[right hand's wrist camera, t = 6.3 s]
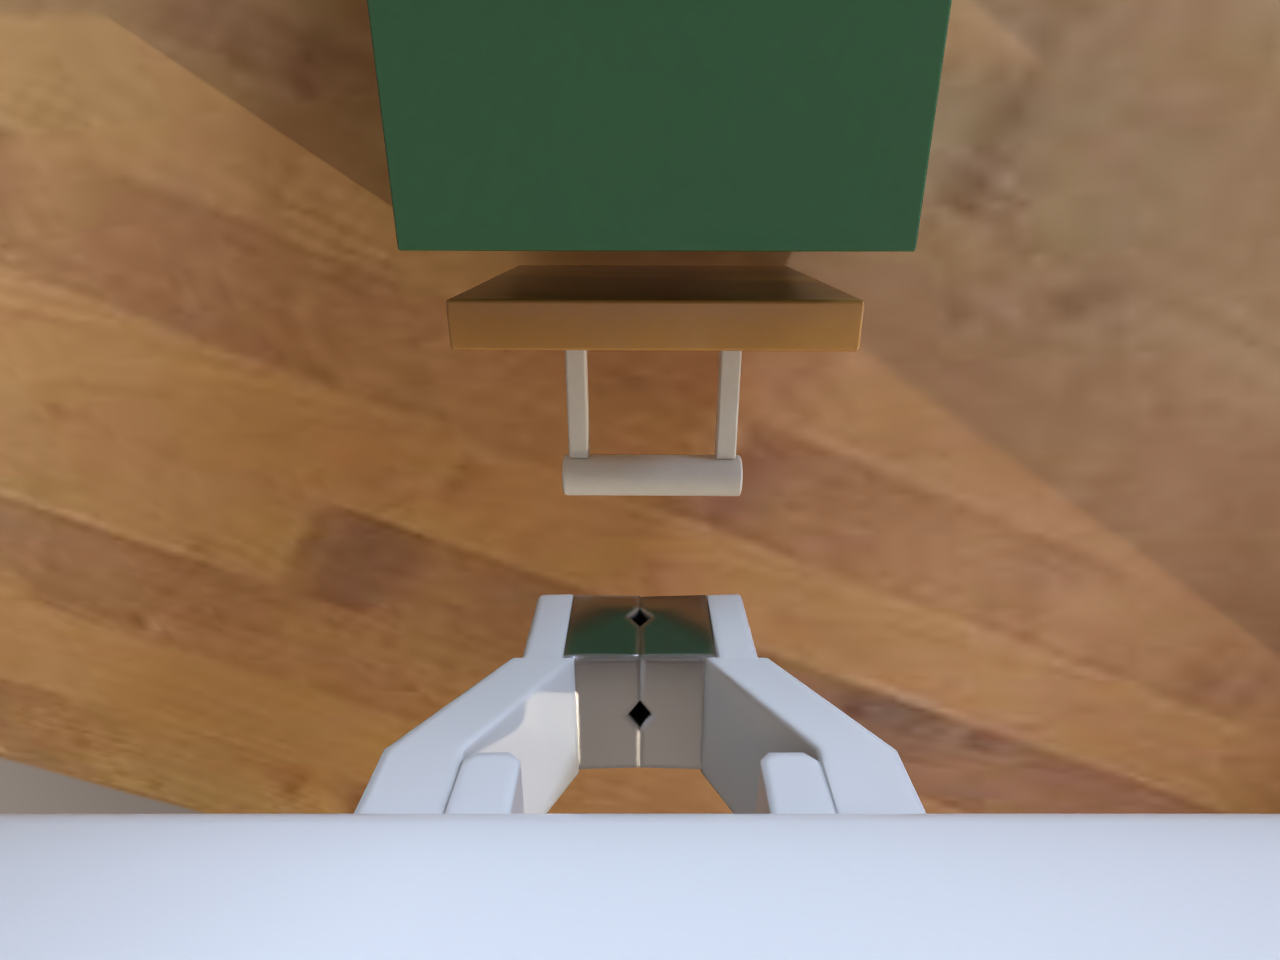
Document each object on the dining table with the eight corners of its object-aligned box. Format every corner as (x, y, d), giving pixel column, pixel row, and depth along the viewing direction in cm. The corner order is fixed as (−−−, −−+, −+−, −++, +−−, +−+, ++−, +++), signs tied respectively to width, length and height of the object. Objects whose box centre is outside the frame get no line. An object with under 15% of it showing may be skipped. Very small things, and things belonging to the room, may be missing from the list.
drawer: (775, 436, 27) (836, 547, 18) (527, 434, 27) (469, 545, 18) (849, -496, 18) (1049, -1192, 9) (468, -492, 18) (291, -1178, 9)
